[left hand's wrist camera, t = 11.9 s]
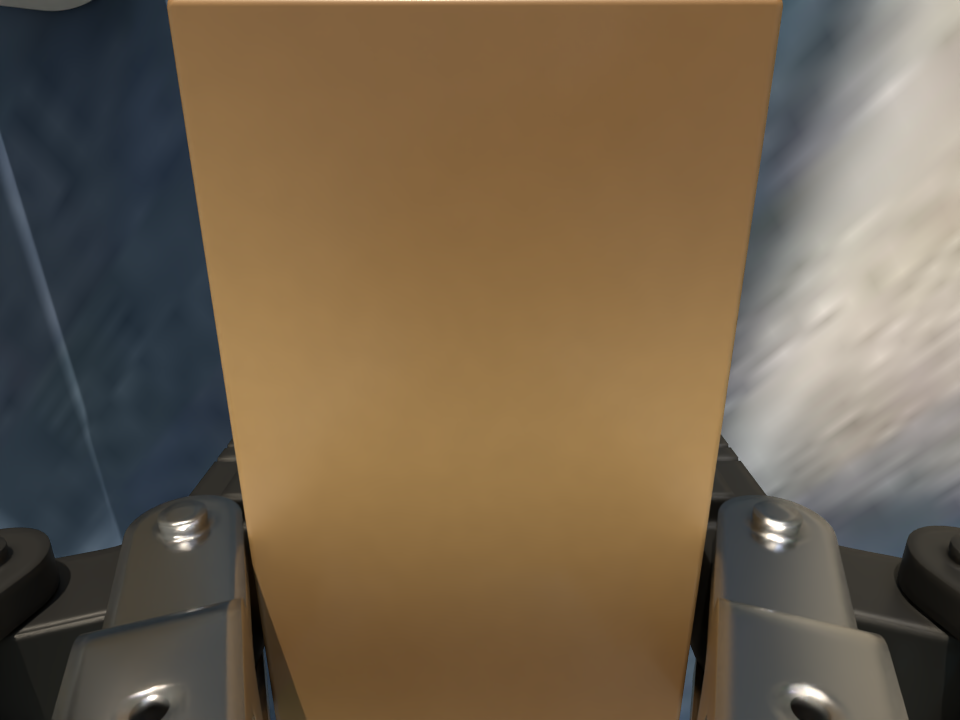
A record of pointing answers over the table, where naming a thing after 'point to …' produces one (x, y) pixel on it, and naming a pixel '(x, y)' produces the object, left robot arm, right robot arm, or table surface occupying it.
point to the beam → (476, 334)
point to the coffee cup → (44, 4)
